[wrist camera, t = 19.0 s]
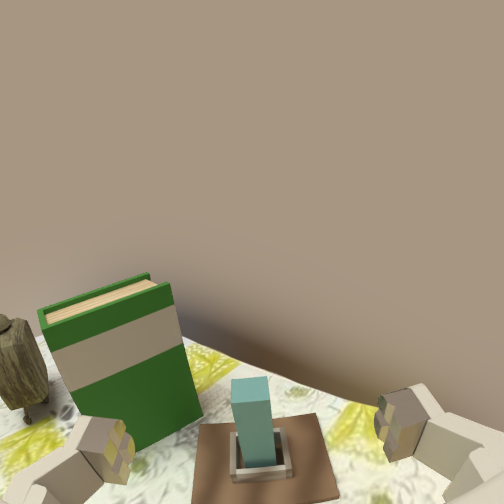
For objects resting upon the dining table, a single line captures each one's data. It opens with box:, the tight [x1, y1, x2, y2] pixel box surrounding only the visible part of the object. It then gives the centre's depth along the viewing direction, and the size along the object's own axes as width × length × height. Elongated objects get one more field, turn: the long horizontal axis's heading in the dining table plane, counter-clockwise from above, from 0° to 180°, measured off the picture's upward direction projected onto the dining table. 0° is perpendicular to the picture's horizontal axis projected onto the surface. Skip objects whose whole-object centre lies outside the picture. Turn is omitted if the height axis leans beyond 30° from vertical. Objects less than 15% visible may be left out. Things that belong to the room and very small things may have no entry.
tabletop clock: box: [0, 314, 49, 424], centre depth 42 cm, size 14×9×25 cm, turn 36°
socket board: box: [191, 413, 339, 504], centre depth 35 cm, size 18×16×4 cm
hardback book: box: [37, 272, 203, 453], centre depth 39 cm, size 18×7×24 cm, turn 133°
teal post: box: [231, 376, 277, 469], centre depth 33 cm, size 4×4×14 cm
